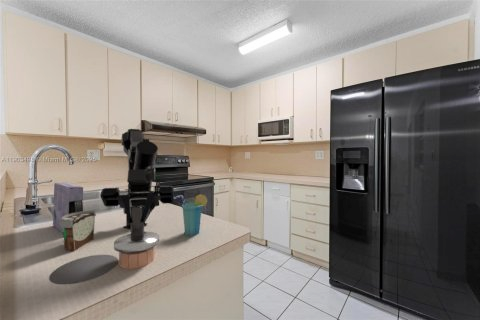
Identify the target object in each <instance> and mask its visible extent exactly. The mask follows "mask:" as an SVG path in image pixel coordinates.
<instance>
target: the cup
mask: <svg viewBox="0 0 480 320" xmlns="http://www.w3.org/2000/svg"><path fill="white" fill-rule="evenodd" d="M179 198H181V201H182V202H183V203H182V204H181V208H182V214H183V225H184V226H183V227H184V229H183V230H184V234H185V235H186V236H197V235H198V234H200V229H201V218H202V209H203V208H204V207H206V206H207V203H208V200H209V199H208V198H207V196H206V195H205V194H198V195H196V196H195V198H194V201H193V202H186V200H185V197H184V195H181V194H178V195H176V196H174V200H176V199H179Z"/></svg>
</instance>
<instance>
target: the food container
mask: <svg viewBox="0 0 480 320" xmlns="http://www.w3.org/2000/svg"><path fill="white" fill-rule="evenodd" d="M96 216H97V213H96V210H83V211H81V212H76V213H71V214H68V215H65V216H63V217H62V219H61V220H60V224H59V226H60V227H62V229H63V232H62V235H63V243H64V245H63V246H64V249H65V251H69V252H76V251H77V250H79V249H80V248H81V247H83V246H85V245H86V244H87V243H89V242H91V241H92V240H94V239H95V223H96V222H95V219H96Z"/></svg>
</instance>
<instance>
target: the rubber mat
mask: <svg viewBox="0 0 480 320" xmlns="http://www.w3.org/2000/svg"><path fill="white" fill-rule="evenodd" d="M118 264H119V258H117V257H116V256H115V255H110V254H95V255H87V256H84V257H81V258H77V259H74V260H72V261H69V262H66V263H65V264H62V265H60V266H59V267H57V268H56V269H55V270H53V271H52V272H51V273H50V274H49V277H48V279H49V281H50V282H51V283H53V284H54V285H72V284H74V285H75V284H81V283H83V282H87V281H90V280H94V279H97V278H99V277H101V276H103V275H106V274H107V273H109V272H110V271H113V269H115V268H116V266H117V265H118Z"/></svg>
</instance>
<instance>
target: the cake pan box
mask: <svg viewBox="0 0 480 320" xmlns="http://www.w3.org/2000/svg"><path fill="white" fill-rule="evenodd" d="M53 184H54V186H53V209H52V210H53V211H52V220H53V221H52V226H53V227H55V228H56V229H57V230H58V231H59V232H61V233H63V229H62V227H60V226H59V224H60V220H61V219H62V217H63V216H65V215H68V214H71V213H76V212H81V211H84V201H83V200H84V187H83V186H80V185H76V184H74V183H72V182H68V181H67V182H64V181H63V182H54V183H53Z"/></svg>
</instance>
